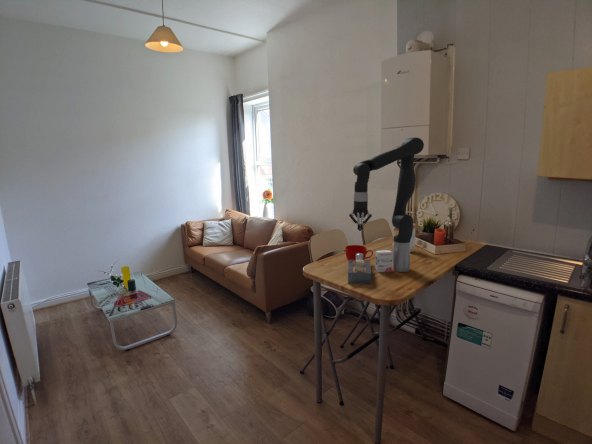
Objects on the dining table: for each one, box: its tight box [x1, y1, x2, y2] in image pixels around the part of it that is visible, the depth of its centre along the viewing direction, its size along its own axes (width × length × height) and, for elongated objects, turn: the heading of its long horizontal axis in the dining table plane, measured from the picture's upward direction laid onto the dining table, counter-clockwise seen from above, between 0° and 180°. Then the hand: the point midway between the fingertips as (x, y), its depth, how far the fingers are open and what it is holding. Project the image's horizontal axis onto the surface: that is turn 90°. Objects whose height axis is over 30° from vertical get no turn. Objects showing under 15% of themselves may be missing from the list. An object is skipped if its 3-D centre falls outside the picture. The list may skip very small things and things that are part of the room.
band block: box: [347, 259, 372, 285], centre depth 183 cm, size 22×12×6 cm, turn 170°
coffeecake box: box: [391, 223, 416, 253], centre depth 230 cm, size 15×7×20 cm, turn 25°
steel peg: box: [356, 253, 363, 260], centre depth 187 cm, size 4×4×6 cm
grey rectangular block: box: [356, 259, 365, 271], centre depth 176 cm, size 4×4×6 cm
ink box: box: [374, 249, 393, 273], centre depth 190 cm, size 8×5×12 cm, turn 96°
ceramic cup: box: [344, 244, 374, 262], centre depth 203 cm, size 13×17×10 cm
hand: (360, 230), depth 184 cm, fingers closed
